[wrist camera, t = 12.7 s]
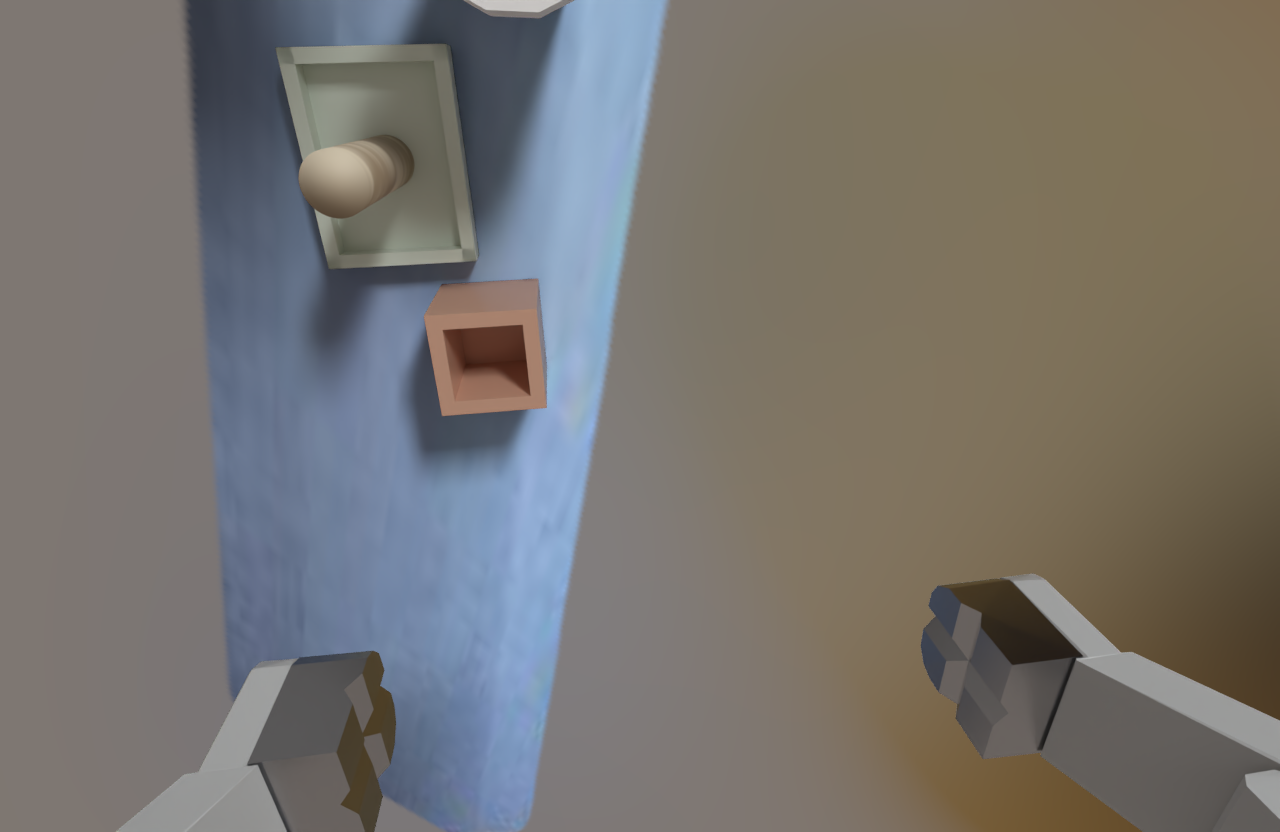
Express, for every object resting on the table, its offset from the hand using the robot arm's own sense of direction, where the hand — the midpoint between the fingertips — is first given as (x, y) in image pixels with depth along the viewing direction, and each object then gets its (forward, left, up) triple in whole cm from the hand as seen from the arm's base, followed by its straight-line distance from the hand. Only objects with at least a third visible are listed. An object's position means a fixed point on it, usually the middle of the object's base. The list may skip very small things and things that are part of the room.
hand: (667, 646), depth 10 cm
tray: (-4, -11, -37) cm, 39 cm away
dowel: (-4, -11, -36) cm, 38 cm away
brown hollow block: (+7, -6, -37) cm, 38 cm away
